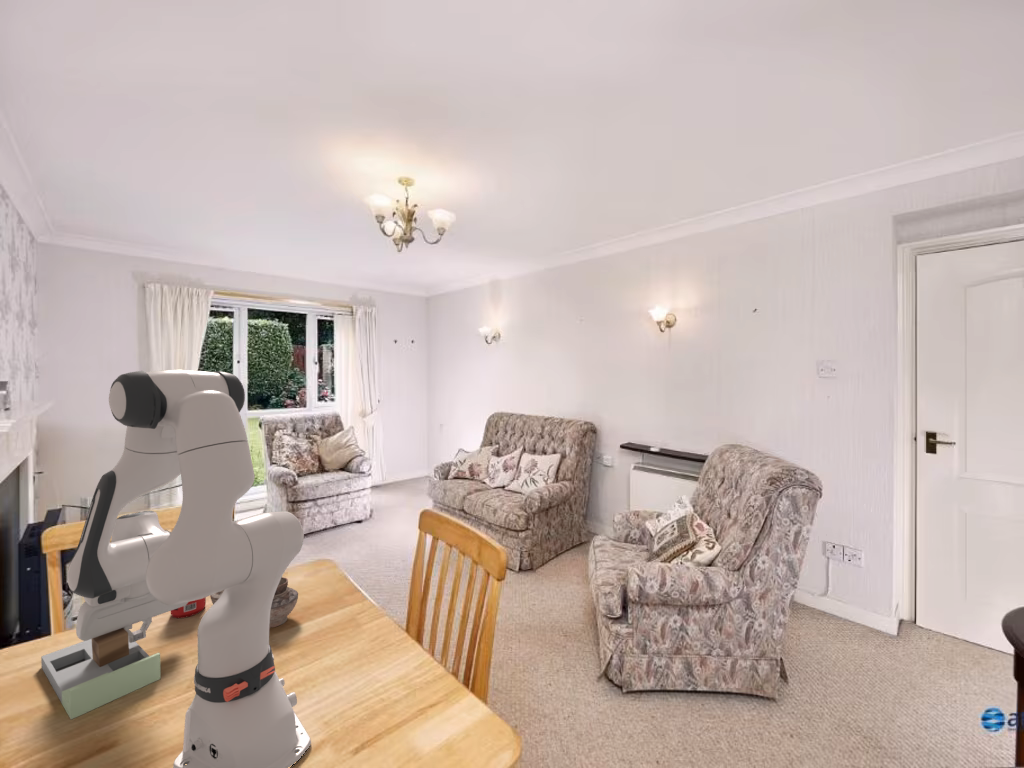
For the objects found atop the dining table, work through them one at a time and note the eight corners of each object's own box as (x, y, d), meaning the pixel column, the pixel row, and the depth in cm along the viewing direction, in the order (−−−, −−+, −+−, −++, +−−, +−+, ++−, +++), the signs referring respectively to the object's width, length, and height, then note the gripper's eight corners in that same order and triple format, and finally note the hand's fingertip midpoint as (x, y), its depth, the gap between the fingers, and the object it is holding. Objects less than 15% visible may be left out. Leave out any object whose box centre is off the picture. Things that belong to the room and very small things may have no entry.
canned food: (212, 604, 127) (212, 566, 127) (189, 619, 119) (189, 579, 119) (187, 603, 128) (187, 565, 128) (163, 618, 120) (162, 577, 120)
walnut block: (129, 654, 100) (127, 632, 100) (99, 667, 96) (98, 644, 96) (121, 646, 103) (120, 625, 103) (92, 658, 99) (91, 636, 99)
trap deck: (160, 678, 96) (160, 653, 96) (70, 719, 85) (70, 691, 85) (122, 637, 111) (121, 615, 111) (41, 667, 100) (41, 643, 100)
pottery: (234, 601, 129) (234, 560, 129) (307, 614, 123) (307, 571, 123) (198, 622, 118) (197, 577, 118) (275, 637, 112) (275, 590, 112)
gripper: (184, 562, 114) (184, 615, 114) (73, 594, 98) (74, 656, 98) (193, 568, 110) (194, 624, 111) (80, 603, 94) (81, 667, 94)
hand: (137, 639), depth 104 cm, fingers closed
